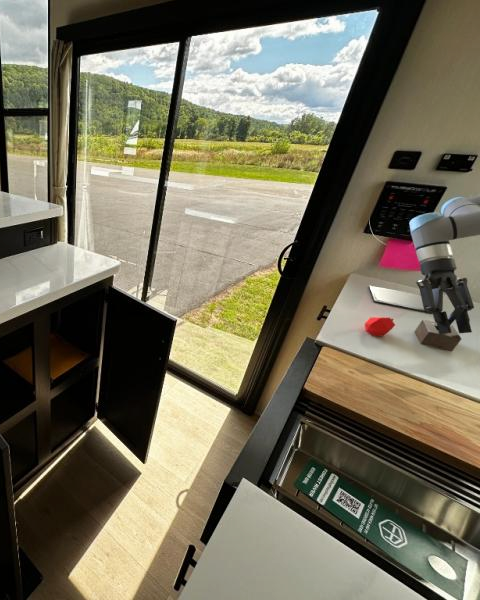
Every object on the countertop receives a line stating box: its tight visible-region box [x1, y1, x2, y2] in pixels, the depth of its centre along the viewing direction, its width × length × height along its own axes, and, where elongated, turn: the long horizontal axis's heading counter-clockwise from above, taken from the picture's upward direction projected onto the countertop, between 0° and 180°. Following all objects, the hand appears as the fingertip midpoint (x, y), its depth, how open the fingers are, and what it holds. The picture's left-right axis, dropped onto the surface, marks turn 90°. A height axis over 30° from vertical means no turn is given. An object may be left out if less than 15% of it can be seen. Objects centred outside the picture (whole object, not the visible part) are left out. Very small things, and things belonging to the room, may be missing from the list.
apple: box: [364, 316, 396, 337], centre depth 105 cm, size 7×7×8 cm
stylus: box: [447, 305, 465, 326], centre depth 99 cm, size 2×2×14 cm
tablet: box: [368, 285, 433, 315], centre depth 123 cm, size 17×13×1 cm
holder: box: [414, 319, 462, 352], centre depth 101 cm, size 7×7×5 cm
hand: (455, 332), depth 96 cm, fingers open, 5 cm apart
